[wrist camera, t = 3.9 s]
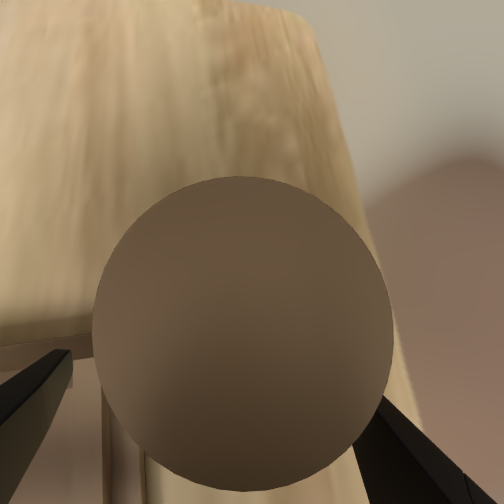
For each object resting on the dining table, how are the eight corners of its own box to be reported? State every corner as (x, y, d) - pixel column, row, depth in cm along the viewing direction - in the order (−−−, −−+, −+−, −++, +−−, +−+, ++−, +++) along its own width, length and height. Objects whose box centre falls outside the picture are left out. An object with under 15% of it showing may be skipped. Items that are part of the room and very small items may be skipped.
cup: (182, 402, 17) (160, 583, 4) (150, 315, 18) (51, 222, 5) (263, 360, 18) (444, 384, 5) (230, 283, 20) (313, 151, 7)
